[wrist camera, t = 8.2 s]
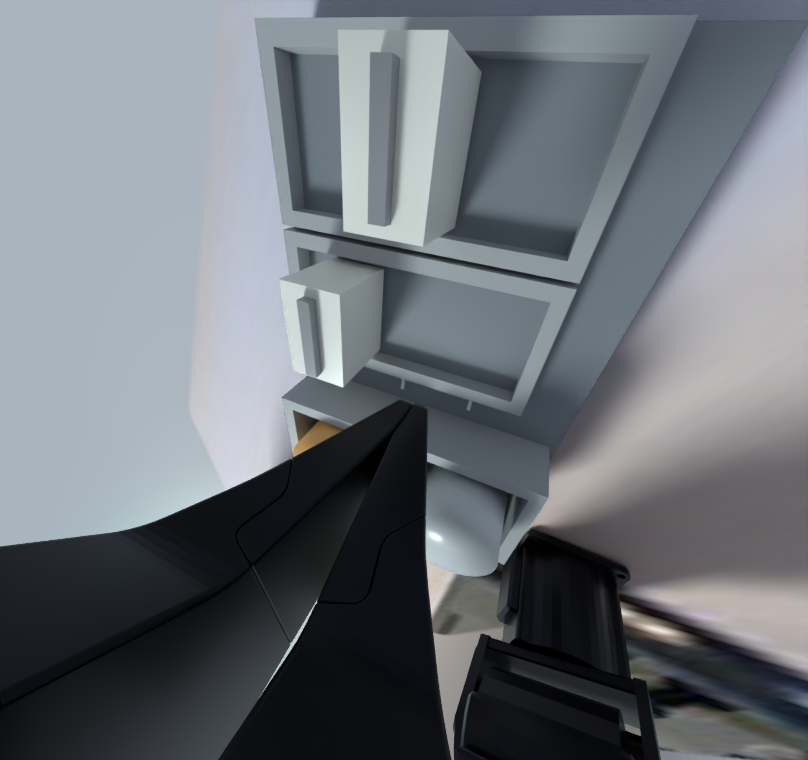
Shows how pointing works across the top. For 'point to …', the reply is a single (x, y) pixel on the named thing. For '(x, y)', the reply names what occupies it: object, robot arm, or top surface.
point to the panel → (518, 218)
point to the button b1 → (463, 522)
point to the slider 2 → (404, 131)
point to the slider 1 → (333, 318)
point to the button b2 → (315, 436)
